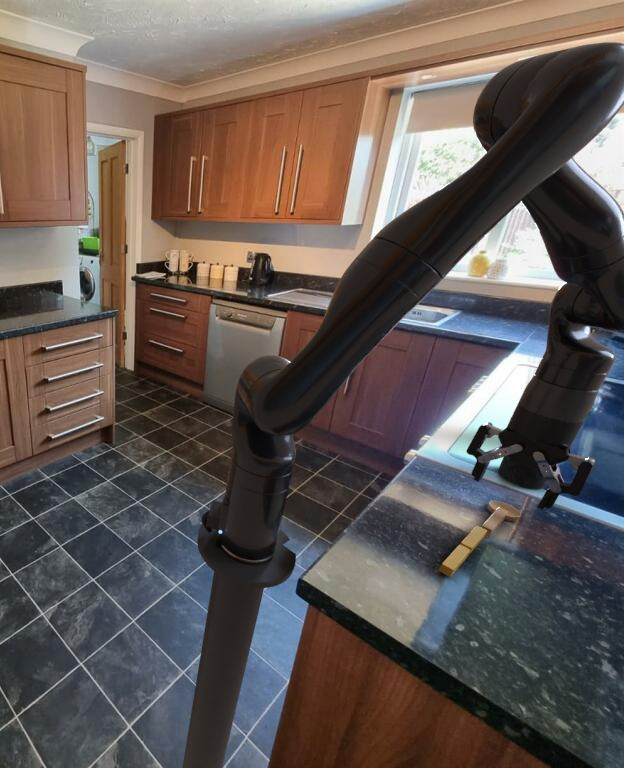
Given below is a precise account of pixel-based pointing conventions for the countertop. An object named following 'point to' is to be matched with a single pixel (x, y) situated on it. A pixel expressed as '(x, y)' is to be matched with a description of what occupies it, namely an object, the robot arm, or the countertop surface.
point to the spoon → (499, 515)
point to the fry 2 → (474, 538)
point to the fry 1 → (454, 560)
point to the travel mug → (521, 474)
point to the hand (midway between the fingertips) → (508, 492)
